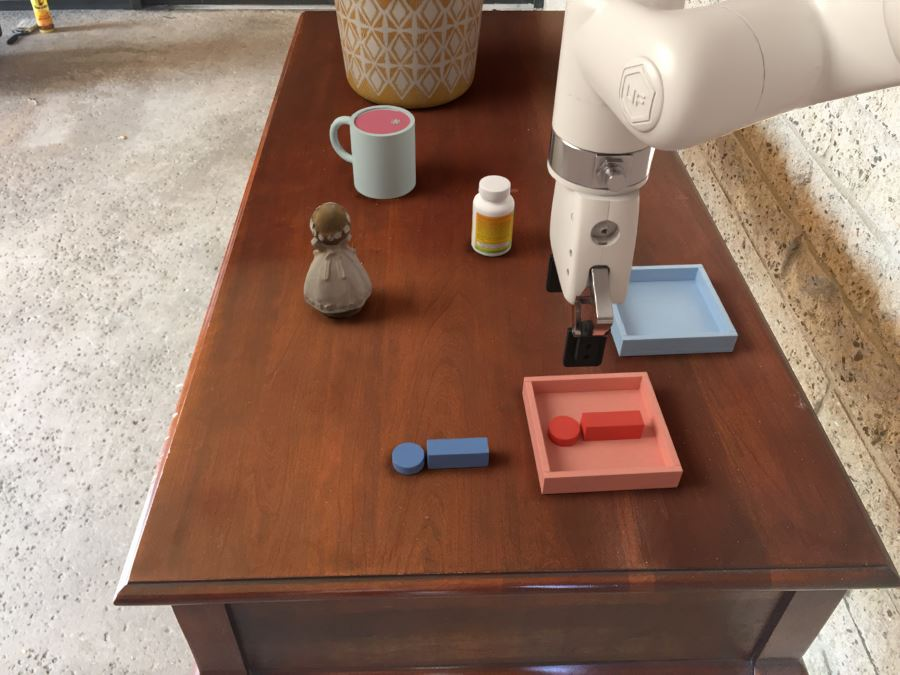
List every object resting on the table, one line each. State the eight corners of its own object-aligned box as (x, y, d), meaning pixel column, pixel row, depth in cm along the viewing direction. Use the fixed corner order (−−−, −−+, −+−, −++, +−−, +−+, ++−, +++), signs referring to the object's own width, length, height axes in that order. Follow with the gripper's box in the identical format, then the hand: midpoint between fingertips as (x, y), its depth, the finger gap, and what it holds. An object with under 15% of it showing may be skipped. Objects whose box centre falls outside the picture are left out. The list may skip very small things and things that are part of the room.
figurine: (365, 286, 98) (357, 182, 88) (377, 320, 93) (371, 215, 83) (301, 297, 96) (286, 193, 86) (311, 333, 92) (296, 227, 81)
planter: (322, 111, 132) (309, -23, 118) (355, 50, 151) (347, -73, 137) (474, 123, 130) (480, -13, 116) (488, 59, 149) (495, -64, 134)
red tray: (677, 487, 76) (683, 471, 74) (541, 494, 75) (544, 478, 73) (642, 388, 86) (646, 371, 84) (522, 393, 85) (524, 376, 83)
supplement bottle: (517, 252, 104) (523, 189, 97) (480, 261, 102) (484, 198, 96) (501, 230, 107) (505, 168, 101) (465, 238, 106) (467, 176, 99)
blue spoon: (488, 471, 77) (489, 457, 76) (392, 475, 76) (391, 461, 75) (485, 446, 79) (486, 432, 78) (392, 450, 79) (391, 436, 77)
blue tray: (732, 351, 90) (738, 335, 89) (619, 356, 89) (622, 339, 88) (697, 280, 100) (701, 263, 98) (594, 283, 99) (597, 267, 98)
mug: (426, 175, 118) (426, 114, 111) (396, 205, 112) (393, 142, 105) (350, 153, 122) (345, 93, 116) (316, 181, 116) (309, 119, 109)
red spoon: (642, 443, 79) (646, 429, 78) (550, 447, 79) (552, 433, 77) (634, 419, 82) (638, 405, 80) (545, 423, 81) (547, 409, 80)
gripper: (683, 217, 51) (635, 396, 62) (625, 97, 63) (594, 264, 75) (569, 219, 50) (543, 399, 62) (533, 98, 63) (517, 266, 75)
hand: (571, 325), depth 69 cm, fingers open, 9 cm apart
